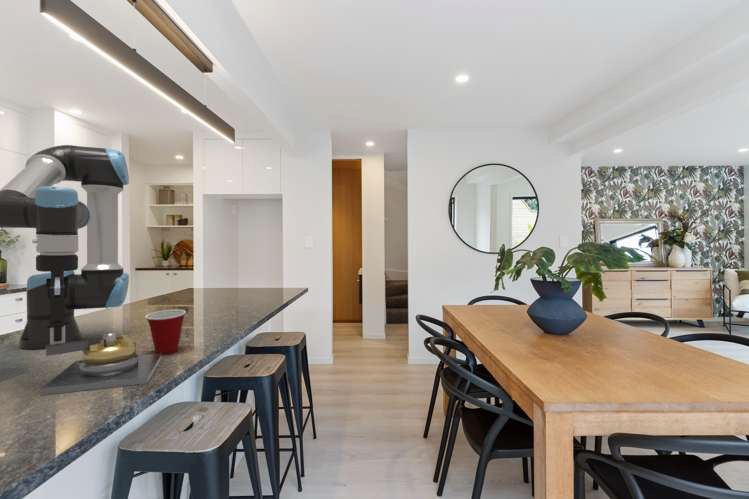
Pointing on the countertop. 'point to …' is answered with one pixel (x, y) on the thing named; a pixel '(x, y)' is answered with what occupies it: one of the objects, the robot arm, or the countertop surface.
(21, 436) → the countertop surface
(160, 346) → the plastic cup
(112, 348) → the brass dial with lever
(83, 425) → the countertop surface
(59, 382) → the flange plate
